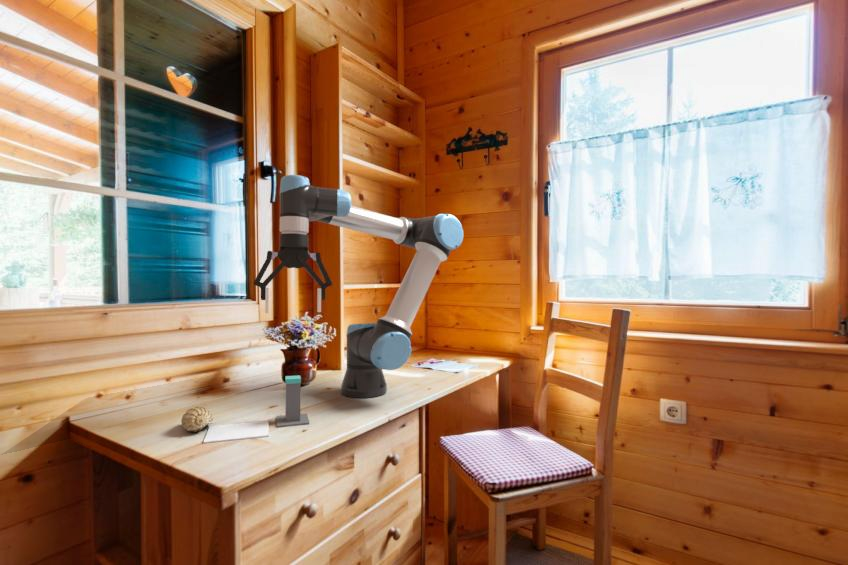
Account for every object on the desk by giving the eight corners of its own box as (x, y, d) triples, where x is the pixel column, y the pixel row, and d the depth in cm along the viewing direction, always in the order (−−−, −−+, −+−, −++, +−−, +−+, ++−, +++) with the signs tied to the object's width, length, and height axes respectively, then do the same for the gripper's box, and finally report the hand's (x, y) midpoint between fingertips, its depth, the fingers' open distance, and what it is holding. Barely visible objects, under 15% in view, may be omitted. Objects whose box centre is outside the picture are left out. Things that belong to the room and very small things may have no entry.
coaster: (306, 414, 120) (306, 413, 120) (309, 424, 113) (309, 422, 113) (276, 417, 117) (276, 416, 117) (276, 427, 110) (276, 425, 110)
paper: (268, 421, 114) (268, 420, 114) (268, 436, 104) (268, 435, 104) (209, 427, 109) (209, 426, 109) (203, 443, 99) (203, 442, 99)
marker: (299, 416, 117) (300, 375, 117) (300, 420, 114) (301, 378, 114) (284, 417, 116) (285, 376, 116) (285, 422, 112) (285, 379, 112)
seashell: (173, 443, 106) (196, 431, 102) (165, 420, 107) (188, 407, 103) (202, 432, 113) (224, 420, 109) (194, 410, 114) (216, 397, 110)
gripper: (338, 237, 125) (337, 310, 125) (245, 232, 116) (244, 311, 117) (342, 234, 118) (341, 312, 118) (243, 230, 109) (242, 314, 110)
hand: (293, 312), depth 117 cm, fingers open, 13 cm apart
